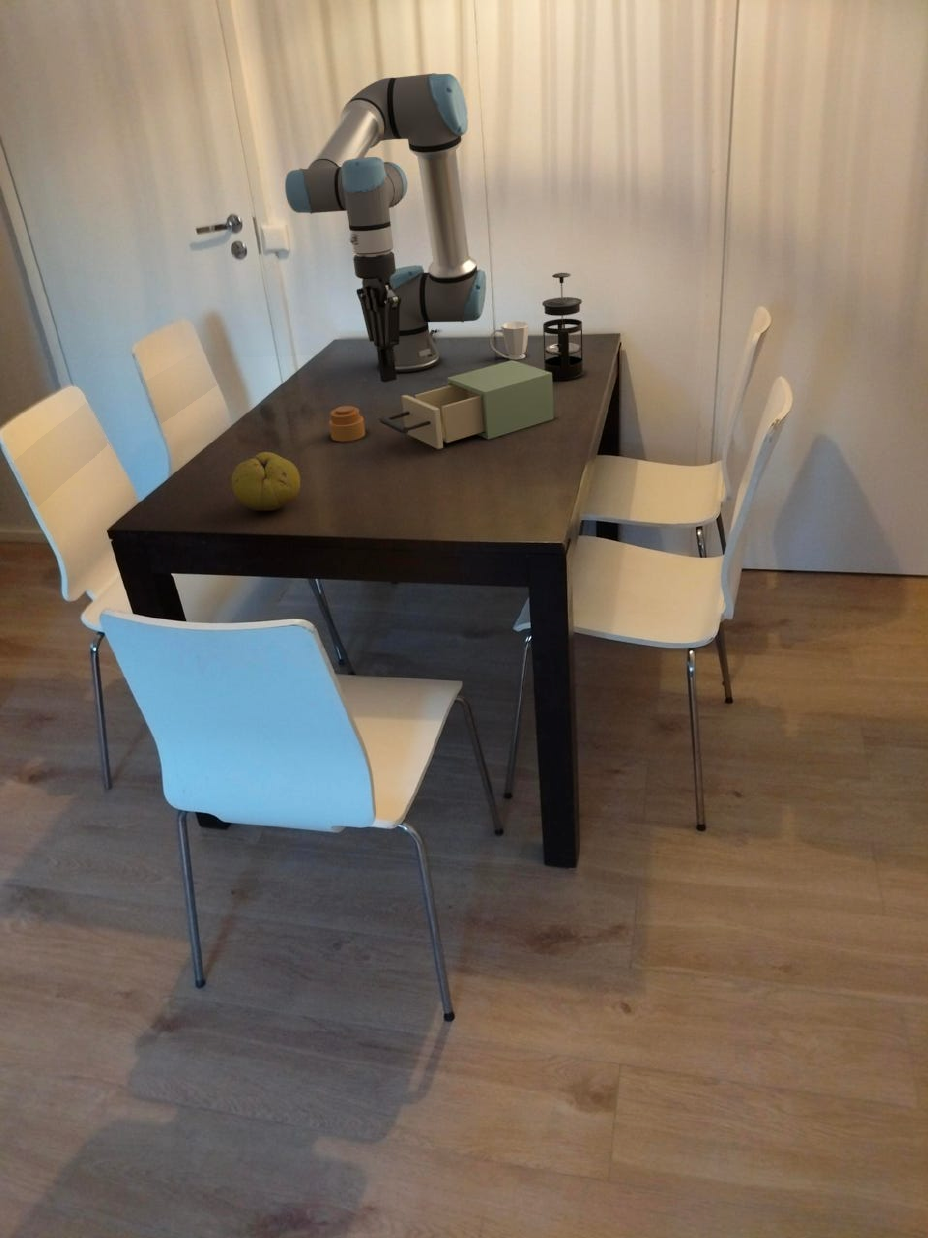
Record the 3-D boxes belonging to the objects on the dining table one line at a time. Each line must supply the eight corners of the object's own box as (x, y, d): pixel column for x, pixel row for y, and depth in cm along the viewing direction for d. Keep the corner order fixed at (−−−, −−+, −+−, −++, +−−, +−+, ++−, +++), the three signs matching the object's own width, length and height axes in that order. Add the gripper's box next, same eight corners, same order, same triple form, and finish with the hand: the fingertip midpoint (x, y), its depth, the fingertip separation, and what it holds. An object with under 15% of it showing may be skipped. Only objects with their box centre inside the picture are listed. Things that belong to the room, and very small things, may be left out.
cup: (529, 360, 233) (527, 327, 229) (489, 361, 235) (487, 329, 231) (531, 352, 239) (530, 320, 235) (493, 354, 241) (491, 322, 237)
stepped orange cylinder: (329, 432, 199) (325, 406, 196) (362, 427, 200) (358, 401, 197) (333, 443, 193) (329, 416, 190) (367, 438, 194) (363, 411, 191)
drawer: (409, 458, 180) (405, 418, 176) (378, 441, 189) (373, 403, 185) (502, 429, 190) (500, 391, 186) (468, 414, 199) (465, 378, 195)
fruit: (247, 497, 172) (236, 446, 167) (310, 494, 171) (300, 442, 166) (232, 524, 162) (220, 470, 157) (299, 520, 162) (288, 466, 156)
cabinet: (488, 439, 188) (484, 392, 183) (450, 423, 198) (446, 377, 193) (553, 418, 195) (552, 372, 190) (514, 404, 206) (512, 359, 200)
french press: (542, 369, 226) (539, 270, 214) (581, 366, 225) (580, 267, 213) (545, 384, 216) (542, 281, 204) (586, 381, 215) (585, 277, 203)
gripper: (338, 252, 172) (356, 377, 185) (372, 260, 163) (389, 392, 175) (373, 245, 176) (388, 369, 188) (409, 252, 166) (422, 382, 179)
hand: (388, 380), depth 182 cm, fingers closed
